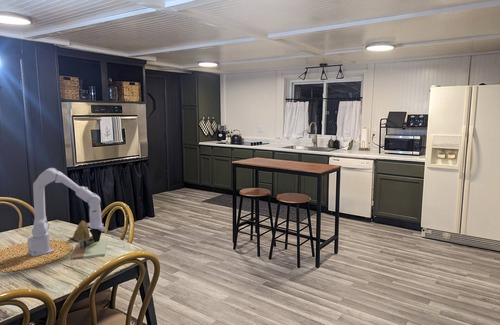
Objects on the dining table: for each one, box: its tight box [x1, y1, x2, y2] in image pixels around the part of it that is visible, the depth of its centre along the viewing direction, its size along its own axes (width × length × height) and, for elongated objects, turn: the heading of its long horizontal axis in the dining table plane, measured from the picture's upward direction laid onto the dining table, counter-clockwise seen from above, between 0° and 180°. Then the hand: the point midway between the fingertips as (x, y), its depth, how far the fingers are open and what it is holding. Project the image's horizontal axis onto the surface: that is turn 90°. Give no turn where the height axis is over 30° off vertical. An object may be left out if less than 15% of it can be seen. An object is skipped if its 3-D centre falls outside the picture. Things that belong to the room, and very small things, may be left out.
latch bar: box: [81, 235, 95, 246], centre depth 187 cm, size 9×3×3 cm, turn 163°
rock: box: [72, 220, 91, 241], centre depth 197 cm, size 11×9×10 cm
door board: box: [71, 238, 109, 260], centre depth 181 cm, size 22×15×4 cm
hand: (96, 241), depth 187 cm, fingers closed
